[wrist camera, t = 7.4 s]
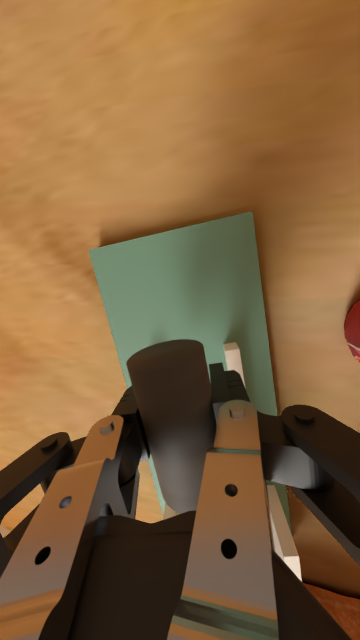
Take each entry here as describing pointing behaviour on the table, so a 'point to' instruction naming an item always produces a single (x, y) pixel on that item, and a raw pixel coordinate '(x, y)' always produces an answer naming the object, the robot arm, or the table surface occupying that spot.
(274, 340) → the table surface
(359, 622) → the bread
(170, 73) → the table surface
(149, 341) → the pitch
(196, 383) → the rod
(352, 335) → the smoothie
